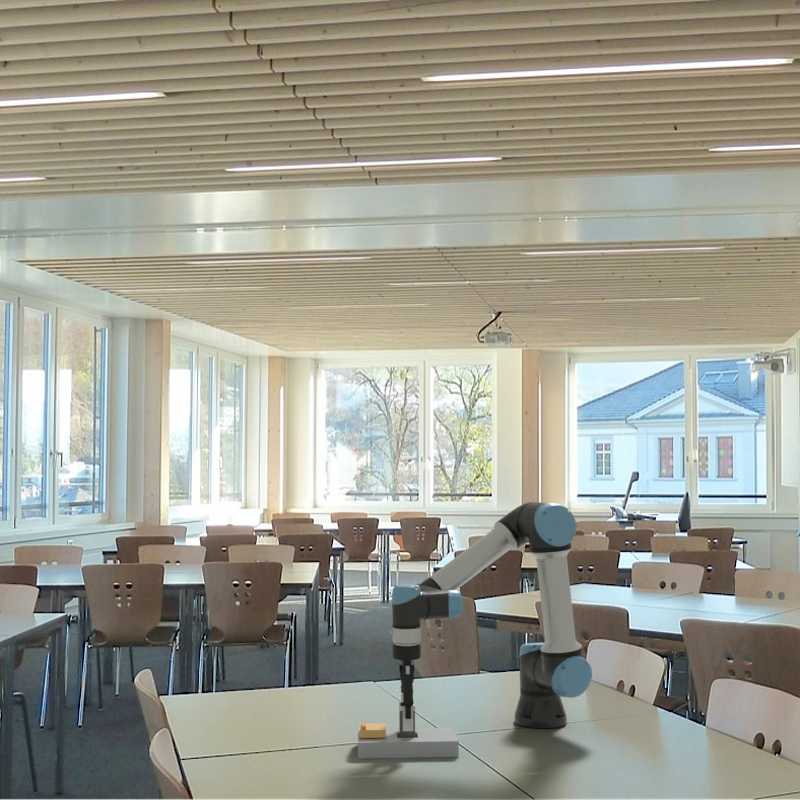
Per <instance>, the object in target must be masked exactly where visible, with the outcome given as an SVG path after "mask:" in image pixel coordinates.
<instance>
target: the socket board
mask: <svg viewBox="0 0 800 800" xmlns="http://www.w3.org/2000/svg"><path fill="white" fill-rule="evenodd" d="M357 731H358V733H357V759H407V758H409V759H413V758H415V759H416V758H417V759H418V758H422V759H423V758H459V756H460V754H459V750H460V748H459V743H460V742H459V739H458V738H459V737H458V736H457V732H456V729H455V727H437V728H436V727H432V728H430V727H428V728H425V727H424V728H416V727H415V738H399V728H386V738H359V728H358V729H357Z"/></svg>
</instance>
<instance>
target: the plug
mask: <svg viewBox="0 0 800 800" xmlns="http://www.w3.org/2000/svg"><path fill="white" fill-rule="evenodd" d="M401 703H403V702H401V701H400V702H398V709H399V712H398V715H399V716H398V717H399V718H398V719H399V721H398V724H399V725H398V726H399V728H398V729H399V738H415V729H416V703H415V702H414V703H413V731H403V706H400V704H401Z"/></svg>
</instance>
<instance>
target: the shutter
mask: <svg viewBox="0 0 800 800" xmlns="http://www.w3.org/2000/svg"><path fill="white" fill-rule="evenodd" d="M386 726H387V725H386V723H367V721H364V720H363V721H361V723H359V726H358V729H359V738H386V729H387V727H386Z"/></svg>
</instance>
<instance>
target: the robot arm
mask: <svg viewBox="0 0 800 800" xmlns="http://www.w3.org/2000/svg"><path fill="white" fill-rule="evenodd" d="M576 532H577V522H576V519H575V516H574V514H573V513H572V511H571V510H570V509H569V508H568V507H566V506H564V505H562V504H559V503H555V502H541V501H540V502H538V501H529V502H526V503H523V504H521V505H519V506H517V507H516V508H514V509H512V510H511V511H510V512H508V513H507V514H506V515H504V516H503V517H502V518H500V519H499V520H498V521H496V522H495V523H494V526H493V529H491V530H490V531H489V532H488V533H486V534H484V536H483V535H482V537H481V538H480V539H478V540H477V541H476V542H474V543H472V545H470V546H469V547H468V548H466V549H465V550H464V551H462V552H460V553H459V554H458V555H457V556H455V557H454V558H453V559H452V560H450V561H449V562H447V563H446V564H445V565H443V566H442V567H441V568H439V569H438V570H437V571H435V572H434V573H433V574H432V575H431V576H429V577H427V578H425V579H424V580H423V581H422V582H420V583H414V584H413V583H412V584H411V583H403V584H402V583H400V584H396V585H394V586H393V588H392V593H391V611H392V612H391V615H392V630H390V632H389V634H390V635H392V642H393V644H392V652H391V653H392V658H393V659H394V660H396V661H400V663H401V664H399V665H398V670H399V671H398V672H399V678H400V685H401V686H400V692H401V694H400V702H403V703H401V704H400V706H403V731H413V703H414V687H413V683H414V682H415V675H414V674H415V664H412V661H416V660H419V659H420V658H421V657H422V656H421V655H422V653H421V652H422V649H421V647H422V645H421V644H420V643H421V642H422V633H421V632H422V630H421V627H422V626H421V624H422V623H421V622H422V621H425V620H438V619H439V620H441V619H445V620H446V619H448V620H450V619H453V618H459V617H460V616H461V615H462V614H463V609H464V600H463V599H464V598H463V596H462V593H461V592H460V591H459V588H461V587H463V585H465V584H466V583H468V582H469V581H470V580H472V579H474V577H475V576H477V575H478V574H479V573H481V572H482V571H484V570H485V569H486V568H487V567H488V566H490V565H492V564H493V563H494V562H495V561H496V560H498V559H500V558H501V557H502V556H503V555H504V554H506V553H507V552H509V551H516V550H517V549H519V548H520V547H522V546H523V545H526V544H529V545H528V546H529V552H530V554H531V555H533V556H534V558H535V559H536V560H535V561H536V569H537V577H538V587H539V588H538V589H539V598H540V605H541V606H540V607H541V616H542V625H543V632H544V633H543V634H544V641H543V642H530V643H524V644H522V645H521V646H520V647H519V655H518V658H519V690H520V691H519V698H518V701H517V704H516V709H515V712H514V723H515V724H516V725H518V726H521V727H525V728H532V729H555V728H561V727H564V726H565V725H567V721H568V720H567V713H566V712H567V711H566V709H565V707H564V704H563V700H562V697H563V698H569V699H570V698H571V699H574V698H577V697H579V696H581V695H582V694H584V693H585V692H586V690H587V689H588V688H589V687H590V685H591V683H592V679H593V671H592V667H591V665H590V662H588V660H587V659H586V658H584V653H583V646H582V644H581V643H580V642H579V641H577V639H576V638H577V637H576V631H575V620H574V610H573V603H572V602H573V601H572V593H571V584H570V574H569V565H568V554H569V553H570V552H571V550H572V541H573V539H574V537H575V536H576V534H577V533H576Z"/></svg>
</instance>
